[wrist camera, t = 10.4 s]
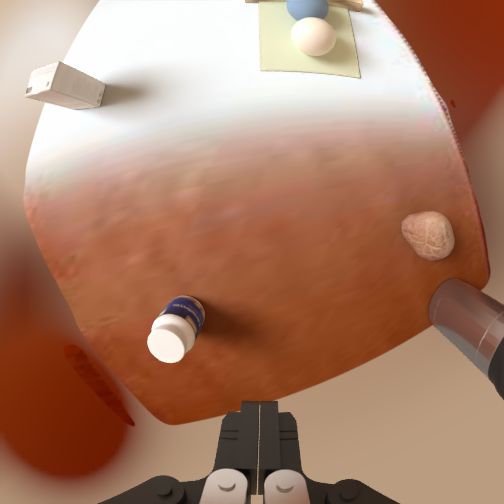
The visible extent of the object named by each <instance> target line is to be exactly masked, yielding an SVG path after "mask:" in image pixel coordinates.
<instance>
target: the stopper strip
mask: <svg viewBox="0 0 504 504" xmlns="http://www.w3.org/2000/svg"><path fill="white" fill-rule="evenodd" d="M258 1H271V2H287V0H245V3H247V2H258ZM327 2H328V5H329V6H333V7H340V8H345V9H348V10H353V11H358V12H359V11H360V9H361V8H362V6H363V1H362V0H327Z"/></svg>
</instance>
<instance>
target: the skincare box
mask: <svg viewBox="0 0 504 504" xmlns="http://www.w3.org/2000/svg"><path fill="white" fill-rule="evenodd" d="M104 90H105V84H104V83H102V82H101V81H99V80H97V79H95V78H93V77H91V76H89V75H87V74H85V73H83V72H81V71H79V70H77V69H75V68H72V67H70V66H68V65H66V64H64V63H62V62H56V63H53V64H50V65H48V66H44V67H42V68H39V69H37V70H34V71H33V72H32V74H31V77H30V81H29V84H28V88H27V91H26V95H25V97H27V98H31V99H35V100H39V101H43V102H47V103H51V104H55V105H58V106H62V107H66V108H69V109H73V110H76V109H85V108H96V107H100V104H101V101H102V97H103V93H104Z"/></svg>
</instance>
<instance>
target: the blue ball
mask: <svg viewBox="0 0 504 504" xmlns="http://www.w3.org/2000/svg"><path fill="white" fill-rule="evenodd" d="M286 7H287V10H288V12H289V14H290V15H291V16H292V17H293V18H294V19H296V20H297V21H299V20H301V19H304V18H308V17H315V18H320V19H322V20H323V19H324V18H325V17H326V16H327V14H328V11H329V5H328V2H327V0H287V2H286Z"/></svg>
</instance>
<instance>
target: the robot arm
mask: <svg viewBox="0 0 504 504" xmlns="http://www.w3.org/2000/svg"><path fill="white" fill-rule="evenodd" d="M428 313H429V320H430V322H431V324H432V325H433V326H434V327H436V328H437V329H438V330H439V331H440V332H441V333H442V334H443V335H444V336H445V337H446V338H447V339H448V340H449V341H450V342H452V343H453V344H454V345H455V346H456V347H457V348H458V349H459V350H460V351H461V352H462V353H463V354H464V355H465V356H466V357H467V358H468V359H469V360H470V361H471V362H472V363H473V364H474V365H475V366H476V367H477V368H478V369H479V370H480V371H481V372H482V373H483V374H484V375H485V376H486V377H487V378H488V379H489V380H490V381H491V382H492V383H493V384H494V386H495V388H496V390H497V392H498V393H499V395H500V396H501V397H502V398H503V400H504V305H503V304H501V303H500V302H499V301H497V300H495V299H493V298H492V297H490V296H488V295H486V294H485V293H483V292H481V291H480V290H478V289H476V288H474V287H473V286H471V285H469V284H467V283H466V282H464V281H462V280H460V279H457V278H452V279H449V280H447V281H445V282H444V283H443V284H441V285H440V286H439V288H438V289H437V290H436V292H435V293H434V295H433V297H432V299H431V302H430V305H429V311H428ZM258 437H259V401H242V403H241V412H228V414H227V415H226V416H225V417H224V419H223V420H222V425H221V431H220V436H219V442H218V448H217V453H216V459H215V464H214V469H213V470H212V472H211V473H210V474H209V475H208V476H206V477H205V478H203V479H200V480H196V481H188V482H179V481H178V480H177V479H175V478H173V477H170V476H156V477H153V478H151V479H149V480H147V481H145V482H144V483H142V484H140V485H138V486H136V487H134V488H132V489H130V490H128V491H126V492H123V493H121V494H119V495H117V496H115V497H112V498H110V499H108V500H106V501H103V502H101V503H98V504H251V495H256V492H257V490H256V489H257V467H258V466H257V465H258ZM258 476H259V477H258V495H263V504H399V503H397V502H396V501H394V500H392V499H390V498H388V497H386V496H384V495H382V494H381V493H379V492H377V491H375V490H374V489H372V488H370V487H369V486H367V485H365V484H364V483H362V482H360V481H358V480H354V479H345V480H341V481H339V482H337V483H335V484H327V483H320V482H316V481H313V480H311V479H309V478H308V477H307V476H306V475H305V474H304V473H303V471H302V468H301V459H300V450H299V441H298V432H297V423H296V420H295V418H294V417H293V415H292V414H291V413H290V412H282V413H278V401H261V403H260V440H259V475H258Z"/></svg>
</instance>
